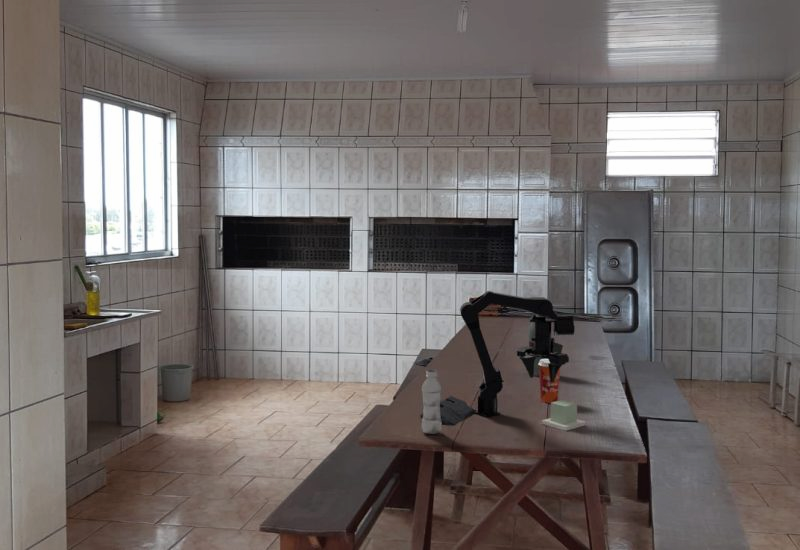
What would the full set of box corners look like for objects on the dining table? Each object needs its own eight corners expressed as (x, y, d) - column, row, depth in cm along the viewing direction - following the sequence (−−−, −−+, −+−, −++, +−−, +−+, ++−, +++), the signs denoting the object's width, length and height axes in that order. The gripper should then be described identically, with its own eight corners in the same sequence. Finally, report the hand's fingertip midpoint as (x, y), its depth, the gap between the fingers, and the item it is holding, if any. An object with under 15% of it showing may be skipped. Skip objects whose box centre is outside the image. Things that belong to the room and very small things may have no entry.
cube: (564, 424, 263) (565, 406, 263) (550, 420, 268) (550, 402, 267) (576, 421, 267) (577, 403, 266) (562, 417, 272) (562, 399, 271)
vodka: (553, 373, 343) (554, 302, 340) (545, 377, 336) (546, 305, 333) (532, 370, 348) (533, 301, 345) (523, 374, 341) (525, 303, 338)
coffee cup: (543, 404, 293) (544, 363, 291) (533, 399, 301) (534, 359, 299) (564, 403, 295) (565, 362, 294) (554, 397, 303) (555, 357, 301)
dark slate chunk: (412, 421, 272) (412, 407, 272) (439, 406, 292) (439, 393, 291) (454, 427, 266) (454, 413, 265) (479, 411, 285) (479, 398, 284)
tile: (565, 430, 261) (565, 427, 260) (541, 423, 268) (541, 420, 268) (585, 425, 267) (585, 421, 267) (561, 418, 275) (561, 415, 274)
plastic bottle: (440, 430, 261) (441, 368, 259) (442, 436, 254) (443, 373, 252) (420, 430, 261) (421, 368, 259) (422, 436, 254) (422, 373, 252)
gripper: (579, 336, 275) (578, 381, 277) (537, 328, 289) (536, 372, 291) (558, 339, 268) (557, 386, 270) (516, 332, 282) (515, 376, 284)
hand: (541, 379), depth 279 cm, fingers open, 9 cm apart
